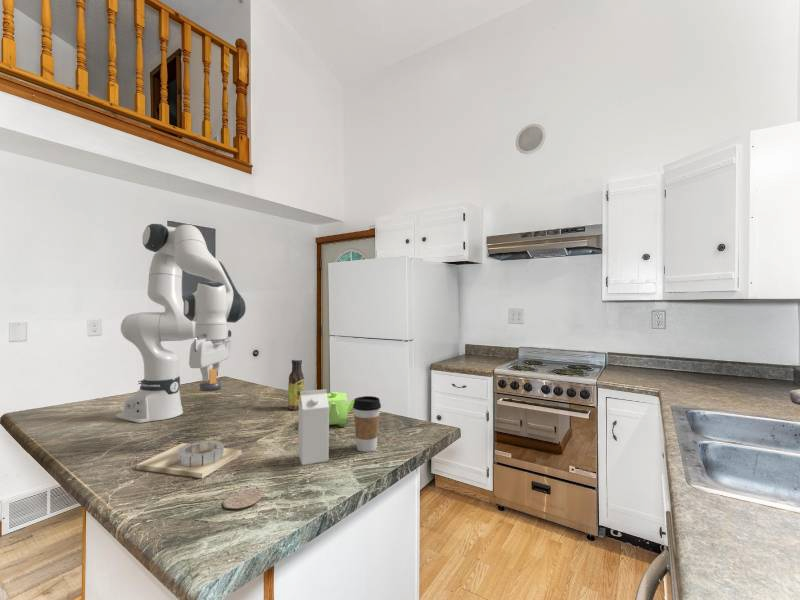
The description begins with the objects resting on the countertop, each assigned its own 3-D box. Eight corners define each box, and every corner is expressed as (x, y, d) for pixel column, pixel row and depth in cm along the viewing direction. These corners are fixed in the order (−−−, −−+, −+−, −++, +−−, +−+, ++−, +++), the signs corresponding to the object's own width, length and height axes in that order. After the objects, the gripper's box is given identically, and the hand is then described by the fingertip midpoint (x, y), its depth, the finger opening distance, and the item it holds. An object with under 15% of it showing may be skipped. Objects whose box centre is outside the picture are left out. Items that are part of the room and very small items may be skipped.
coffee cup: (347, 451, 110) (348, 399, 110) (360, 441, 118) (360, 393, 118) (373, 455, 107) (374, 402, 107) (384, 444, 115) (385, 396, 115)
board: (136, 469, 97) (136, 464, 97) (182, 447, 111) (182, 443, 111) (202, 478, 92) (202, 473, 92) (241, 454, 107) (241, 450, 107)
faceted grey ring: (167, 464, 97) (167, 454, 97) (199, 448, 108) (199, 439, 108) (203, 468, 95) (203, 458, 95) (231, 452, 105) (231, 443, 105)
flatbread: (242, 489, 87) (242, 485, 87) (268, 496, 85) (268, 491, 85) (213, 507, 80) (214, 502, 80) (241, 515, 77) (241, 510, 77)
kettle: (333, 433, 124) (333, 399, 124) (304, 425, 132) (304, 393, 132) (362, 421, 137) (362, 390, 137) (333, 415, 145) (334, 385, 145)
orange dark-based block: (196, 389, 115) (196, 369, 116) (216, 386, 120) (217, 367, 120) (203, 392, 111) (204, 372, 111) (224, 389, 116) (224, 369, 116)
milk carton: (298, 455, 106) (298, 388, 106) (323, 451, 109) (323, 386, 109) (302, 465, 100) (302, 394, 100) (328, 461, 102) (329, 392, 103)
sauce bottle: (299, 411, 149) (299, 361, 149) (284, 410, 150) (285, 360, 150) (306, 406, 155) (307, 358, 156) (292, 405, 157) (293, 358, 157)
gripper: (206, 336, 106) (205, 385, 105) (234, 331, 126) (233, 372, 126) (183, 336, 105) (182, 385, 105) (215, 331, 126) (214, 372, 125)
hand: (210, 378), depth 116 cm, fingers closed on orange dark-based block, 4 cm apart
